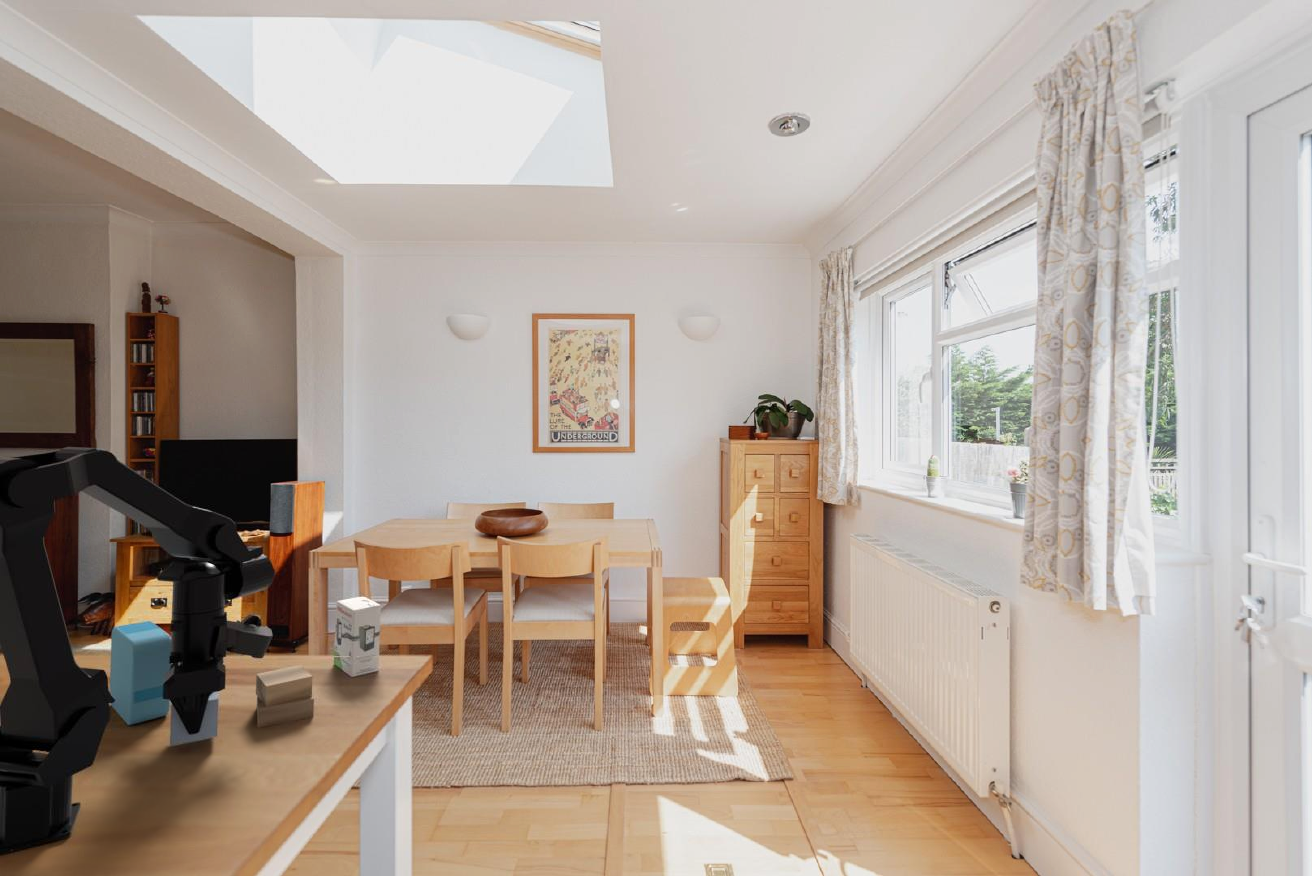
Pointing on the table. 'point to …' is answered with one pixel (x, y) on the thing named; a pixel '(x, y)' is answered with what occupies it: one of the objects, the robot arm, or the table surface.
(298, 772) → the table surface
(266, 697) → the upper slab
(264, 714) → the lower slab
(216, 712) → the blue cube
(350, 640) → the ink box
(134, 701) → the data package
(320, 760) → the table surface
